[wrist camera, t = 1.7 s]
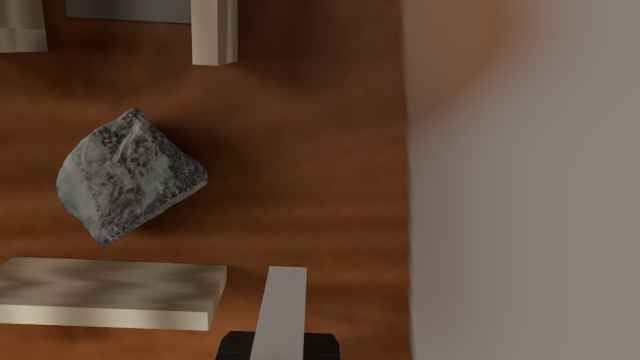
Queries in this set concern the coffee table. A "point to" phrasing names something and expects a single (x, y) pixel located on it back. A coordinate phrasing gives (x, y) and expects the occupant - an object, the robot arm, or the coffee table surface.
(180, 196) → the stone
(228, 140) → the coffee table surface
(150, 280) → the wooden wall enclosure
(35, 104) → the coffee table surface
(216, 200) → the coffee table surface
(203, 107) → the coffee table surface
